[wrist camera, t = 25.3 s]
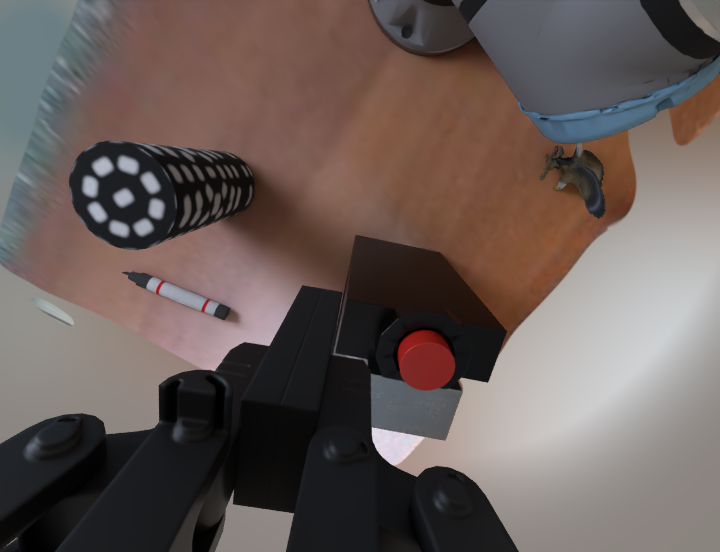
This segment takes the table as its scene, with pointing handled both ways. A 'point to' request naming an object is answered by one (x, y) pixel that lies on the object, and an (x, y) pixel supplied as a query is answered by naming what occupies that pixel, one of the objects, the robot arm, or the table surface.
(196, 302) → the marker
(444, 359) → the button
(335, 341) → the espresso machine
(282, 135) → the table surface
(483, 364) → the tower
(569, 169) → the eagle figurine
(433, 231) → the table surface
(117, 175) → the spotted tube
